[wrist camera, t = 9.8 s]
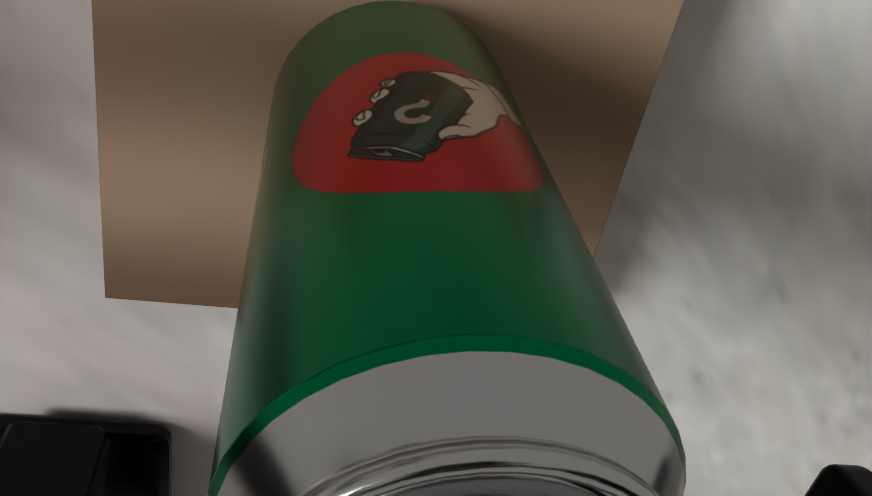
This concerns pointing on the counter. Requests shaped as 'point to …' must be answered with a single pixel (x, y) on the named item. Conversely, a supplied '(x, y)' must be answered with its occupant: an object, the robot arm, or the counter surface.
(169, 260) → the walnut base
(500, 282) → the soda can
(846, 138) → the counter surface
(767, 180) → the counter surface
